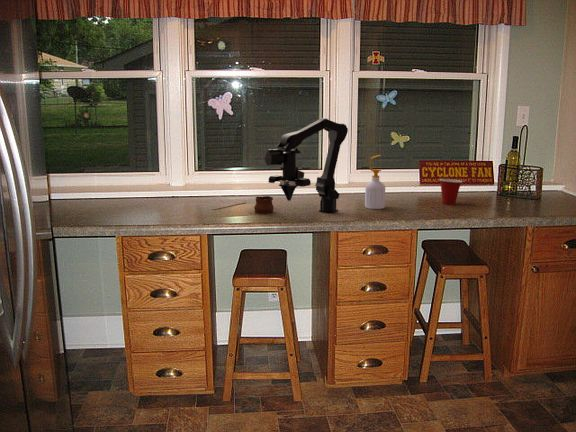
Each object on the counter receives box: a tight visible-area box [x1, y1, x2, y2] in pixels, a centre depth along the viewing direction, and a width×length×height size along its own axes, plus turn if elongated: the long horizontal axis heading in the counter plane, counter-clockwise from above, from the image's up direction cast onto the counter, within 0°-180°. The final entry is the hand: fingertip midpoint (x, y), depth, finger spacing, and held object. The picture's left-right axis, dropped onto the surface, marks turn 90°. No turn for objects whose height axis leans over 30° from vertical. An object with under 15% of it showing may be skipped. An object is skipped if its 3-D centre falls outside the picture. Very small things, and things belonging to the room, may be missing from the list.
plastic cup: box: [439, 178, 463, 206], centre depth 264 cm, size 11×11×12 cm
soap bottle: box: [364, 154, 386, 210], centre depth 252 cm, size 9×9×25 cm
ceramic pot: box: [253, 195, 275, 215], centre depth 243 cm, size 18×18×7 cm
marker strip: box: [211, 201, 247, 211], centre depth 256 cm, size 1×22×1 cm, turn 143°
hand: (289, 200), depth 234 cm, fingers closed
